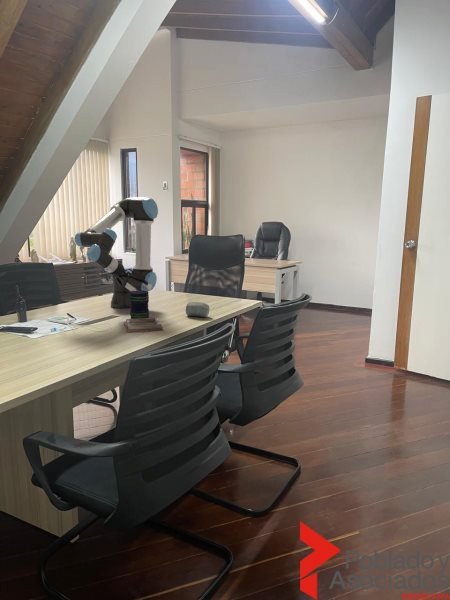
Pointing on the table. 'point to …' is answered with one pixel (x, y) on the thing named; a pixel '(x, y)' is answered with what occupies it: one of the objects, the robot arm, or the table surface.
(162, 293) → the table surface
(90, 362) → the table surface
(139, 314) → the rusty blue barrel
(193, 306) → the spool
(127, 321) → the cradle plate
